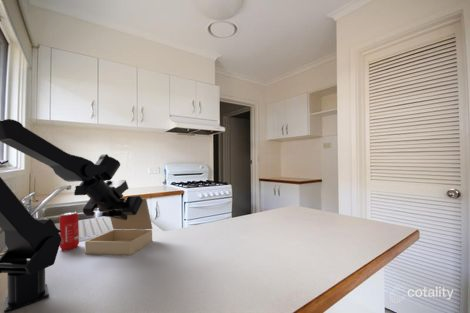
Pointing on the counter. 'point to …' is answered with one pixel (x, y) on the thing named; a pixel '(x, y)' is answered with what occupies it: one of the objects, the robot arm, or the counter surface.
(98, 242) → the mailer box
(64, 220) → the beverage can
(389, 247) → the counter surface
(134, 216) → the mailer lid
